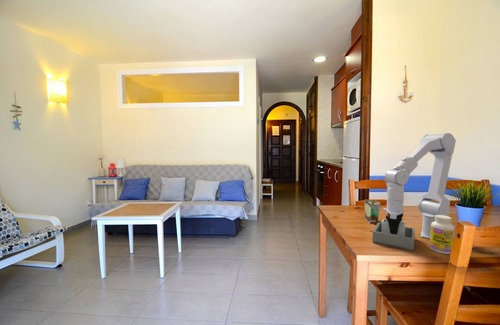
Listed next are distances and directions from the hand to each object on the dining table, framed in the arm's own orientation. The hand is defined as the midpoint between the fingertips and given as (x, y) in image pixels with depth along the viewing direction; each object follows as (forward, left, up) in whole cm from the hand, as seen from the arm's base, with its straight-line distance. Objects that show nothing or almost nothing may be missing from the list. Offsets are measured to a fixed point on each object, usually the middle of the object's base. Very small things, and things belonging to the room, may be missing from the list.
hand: (394, 232), depth 95 cm
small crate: (0, 0, -2) cm, 2 cm away
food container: (+11, -25, -4) cm, 28 cm away
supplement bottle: (-15, +1, -4) cm, 16 cm away
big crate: (0, 0, -4) cm, 4 cm away
